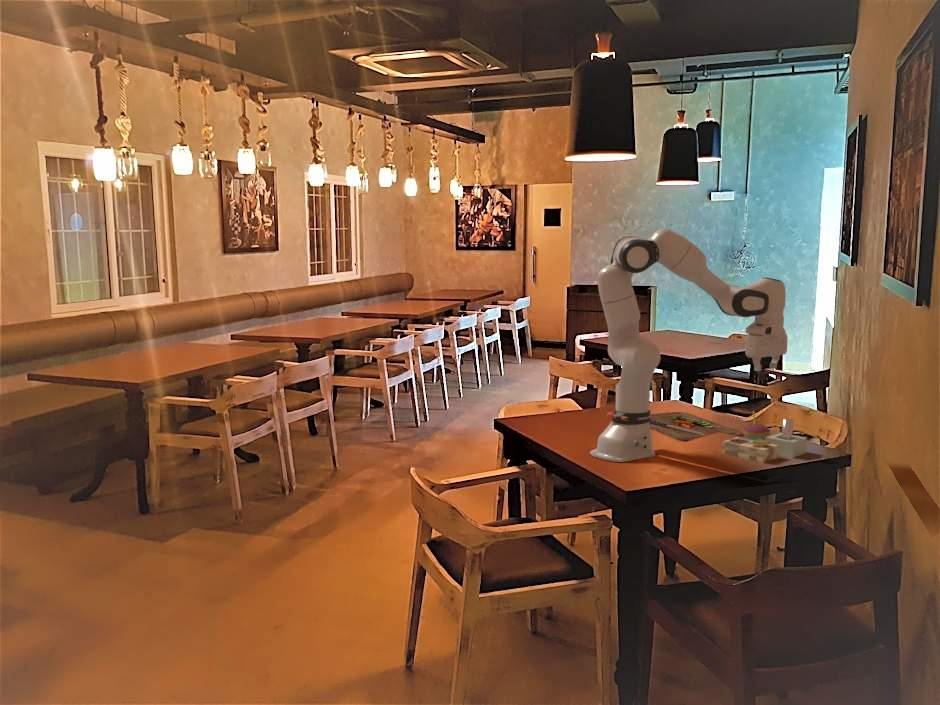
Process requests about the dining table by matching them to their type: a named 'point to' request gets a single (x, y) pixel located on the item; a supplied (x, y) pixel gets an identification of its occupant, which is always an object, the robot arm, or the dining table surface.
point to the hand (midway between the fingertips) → (765, 369)
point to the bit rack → (789, 445)
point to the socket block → (749, 450)
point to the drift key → (760, 443)
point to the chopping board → (687, 426)
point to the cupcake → (756, 430)
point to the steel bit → (787, 429)
